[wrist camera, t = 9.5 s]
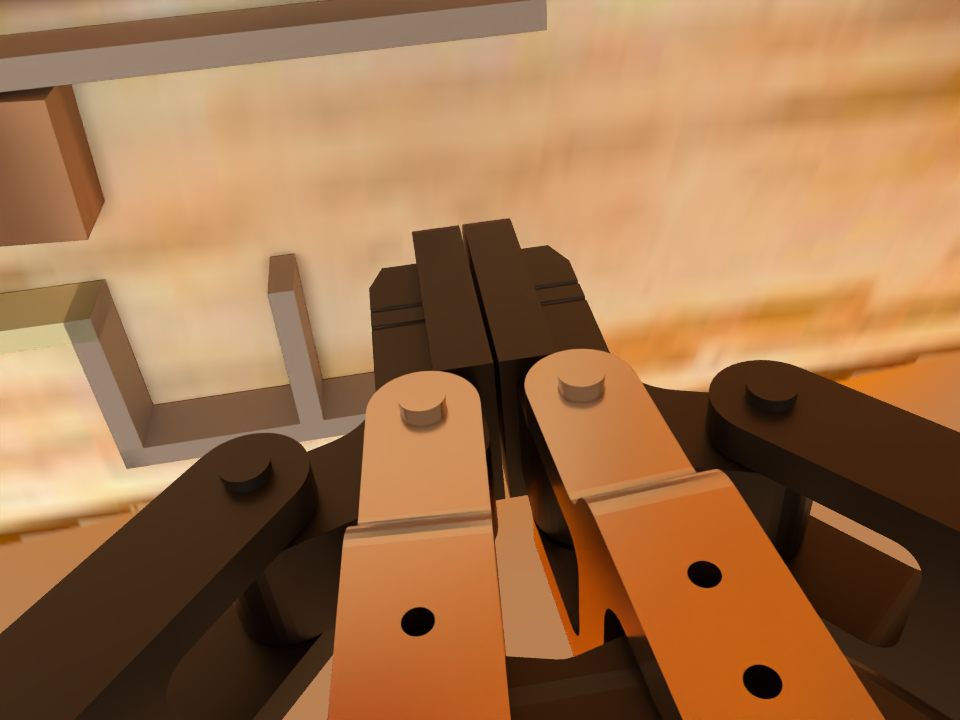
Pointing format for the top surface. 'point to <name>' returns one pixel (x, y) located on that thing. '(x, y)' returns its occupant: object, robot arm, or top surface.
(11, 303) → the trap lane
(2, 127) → the walnut block
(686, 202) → the top surface
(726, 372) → the robot arm
